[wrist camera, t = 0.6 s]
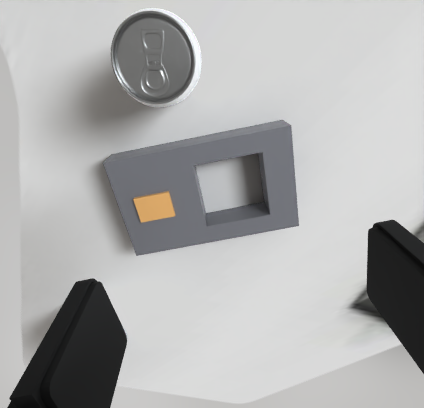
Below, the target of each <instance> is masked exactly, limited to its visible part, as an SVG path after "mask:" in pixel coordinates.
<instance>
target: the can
mask: <svg viewBox="0 0 424 408" xmlns="http://www.w3.org/2000/svg"><path fill="white" fill-rule="evenodd" d="M111 62H112V66H113V70H114V73H115V75H116V77H117V79H118V81H119V83H120V85H121V86H122V87H123V89H124V90H125V91H126V92H127V93H128V94H129V95H130V96H131V97H132V98H134V99H135V100H137V101H138V102H140V103H142V104H145V105H148V106H152V107H168V106H172V105H175V104H177V103H179V102H181V101H182V100H184V99H185V98H186V97H187V96H188V95H189V94H190V93H191V92H192V91H193V89H194V88H195V86H196V84H197V82H198V80H199V77H200V73H201V67H202V57H201V50H200V47H199V43H198V41H197V39H196V36H195V35H194V33H193V31H192V30H191V28H190V27H189V26H188V25H187V23H186V22H185V21H183V20H182V19H181V18H180V17H178V16H177V15H175V14H174V13H172V12H169V11H167V10H164V9H159V8H146V9H142V10H139V11H136V12H134V13H133V14H131V15H130V16H128V17H127V18H126V19H125V20H124V21H123V22H122V23H121V24H120V26H119V27H118V29H117V31H116V33H115V35H114V38H113V41H112V46H111Z"/></svg>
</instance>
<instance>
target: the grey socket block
mask: <svg viewBox="0 0 424 408" xmlns="http://www.w3.org/2000/svg"><path fill="white" fill-rule="evenodd" d="M255 153H258V157H259V164H260V172H261V180H262V188H263V195H264V203H258V204H253V205H248V206H242V207H237V208H232V209H227V210H221V211H216V212H211V213H206V211H205V207H204V202H203V198H202V193H201V189H200V184H199V180H198V176H197V171H196V167H195V165H200V164H205V163H210V162H215V161H220V160H225V159H230V158H235V157H240V156H245V155H250V154H255ZM103 165H104V167H105V170H106V173H107V176H108V178H109V181H110V184H111V187H112V189H113V192H114V195H115V198H116V201H117V203H118V206H119V209H120V212H121V214H122V217H123V220H124V223H125V225H126V228H127V231H128V234H129V236H130V239H131V242H132V245H133V247H134V250H135V253H136V256H138V255H143V254H149V253H154V252H160V251H165V250H170V249H176V248H181V247H187V246H192V245H198V244H203V243H208V242H214V241H219V240H225V239H230V238H236V237H241V236H246V235H252V234H257V233H263V232H268V231H274V230H279V229H284V228H290V227H295V226H299V221H298V209H297V196H296V183H295V170H294V157H293V144H292V131H291V125H290V124H288V123H287V122H285V121H283V120H280V121H275V122H270V123H265V124H260V125H255V126H250V127H245V128H240V129H235V130H230V131H225V132H220V133H215V134H210V135H205V136H200V137H195V138H190V139H185V140H180V141H175V142H170V143H166V144H161V145H156V146H151V147H146V148H141V149H136V150H131V151H126V152H121V153H116V154H112V155H111V156H110V157H109V158H108V159H107V160H106V161H105V162H103Z"/></svg>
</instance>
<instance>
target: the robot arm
mask: <svg viewBox="0 0 424 408" xmlns="http://www.w3.org/2000/svg"><path fill="white" fill-rule="evenodd" d="M367 294H368V296H369V299H370V300H371V302H372V303H373V304H374V306H375V307H376V309H377V310H378V311H379V313H380V314H381V316H382V317H383V318H384V320H385V321H386V322H387V324H388V325H389V327H390V328H391V329H392V331H393V332H394V333H395V335H396V336H397V338H398V339H399V340H400V342H401V343H402V344H403V346H404V347H405V349H406V350H407V351H408V353H409V354H410V355H411V357H412V358H413V360H414V361H415V362H416V364H417V365H418V367H419V368H420V369H421V371H422V372H423V373H424V243H423V242H421V241H420V240H419V239H418V238H416V237H415V236H414V235H413V234H411V233H410V232H409V231H408V230H406V229H405V228H404V227H403V226H401V225H400V224H399V223H398V222H396V221H395V220H389V221H384V222H379V223H375V224H374V225H373V228H371V229H369V231H368V260H367ZM126 345H127V336H126V333H125V331H124V329H123V327H122V325H121V322H120V320H119V318H118V316H117V314H116V312H115V310H114V308H113V306H112V304H111V301H110V299H109V297H108V295H107V293H106V291H105V289H104V287H103V285H102V283H101V282H97V281H96V280H95V279H88V280H82V281H78V282H76V283H75V284H74V286H73V288H72V290H71V291H70V293H69V295H68V297H67V298H66V300H65V302H64V304H63V305H62V307H61V309H60V311H59V312H58V314H57V316H56V318H55V319H54V321H53V323H52V325H51V326H50V328H49V330H48V332H47V333H46V335H45V337H44V339H43V340H42V342H41V344H40V346H39V347H38V349H37V351H36V353H35V354H34V356H33V358H32V360H31V361H30V363H29V365H28V367H27V368H26V370H25V372H24V374H23V375H22V377H21V379H20V381H19V383H18V384H17V386H16V388H15V389H14V391H13V393H12V395H11V396H10V400H11V402H10V404H9V406H8V408H110V406H111V402H112V398H113V394H114V391H115V387H116V383H117V379H118V375H119V372H120V368H121V364H122V360H123V356H124V353H125V349H126Z"/></svg>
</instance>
